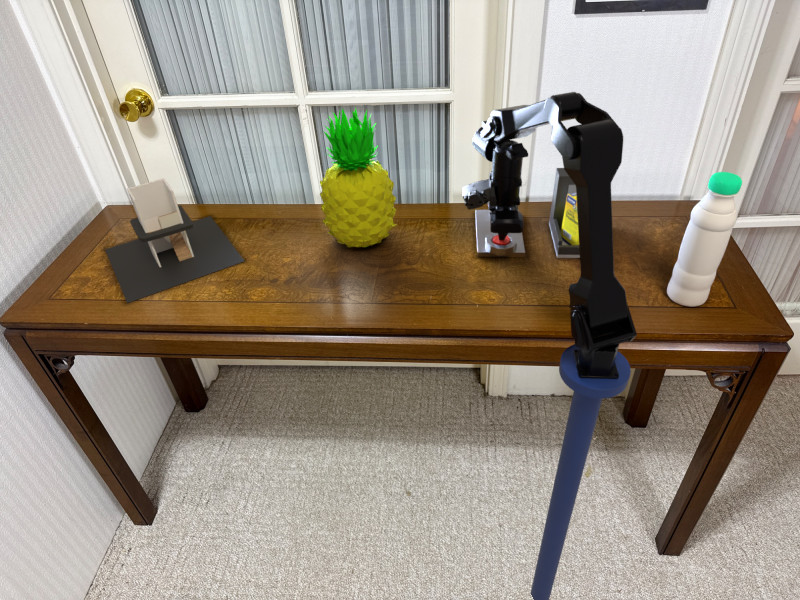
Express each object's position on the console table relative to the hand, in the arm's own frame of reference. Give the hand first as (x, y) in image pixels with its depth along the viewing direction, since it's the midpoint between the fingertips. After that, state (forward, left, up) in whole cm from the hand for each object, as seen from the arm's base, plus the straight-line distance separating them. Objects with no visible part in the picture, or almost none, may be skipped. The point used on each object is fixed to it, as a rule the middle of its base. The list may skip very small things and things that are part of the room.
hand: (501, 239), depth 120 cm
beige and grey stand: (-2, +73, -3) cm, 73 cm away
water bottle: (-15, -34, -3) cm, 37 cm away
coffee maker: (+5, -17, -3) cm, 18 cm away
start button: (0, 0, -2) cm, 2 cm away
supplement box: (+3, -17, -3) cm, 17 cm away
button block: (+7, 0, -3) cm, 8 cm away
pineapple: (+5, +31, -3) cm, 32 cm away
